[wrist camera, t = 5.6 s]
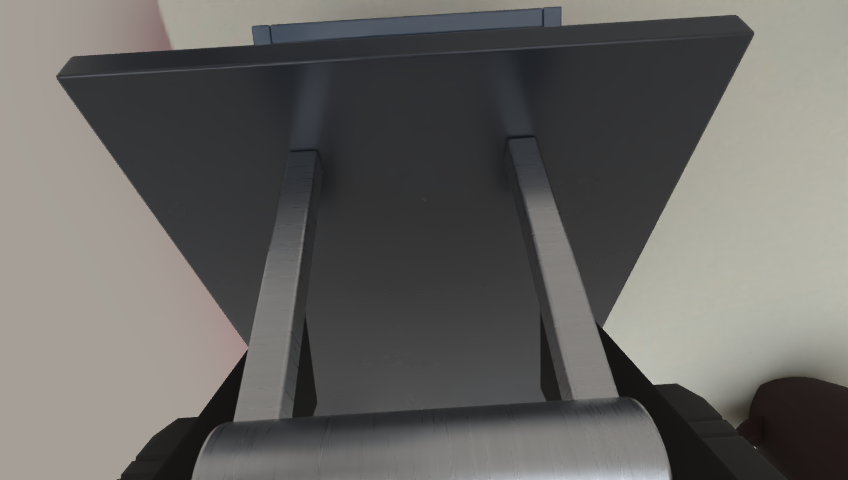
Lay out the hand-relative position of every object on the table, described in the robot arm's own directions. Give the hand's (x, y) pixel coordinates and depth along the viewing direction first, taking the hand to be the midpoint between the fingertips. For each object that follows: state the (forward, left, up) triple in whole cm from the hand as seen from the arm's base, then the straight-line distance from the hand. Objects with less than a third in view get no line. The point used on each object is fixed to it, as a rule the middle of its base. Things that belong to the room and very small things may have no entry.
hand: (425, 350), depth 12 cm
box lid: (0, 0, -5) cm, 5 cm away
